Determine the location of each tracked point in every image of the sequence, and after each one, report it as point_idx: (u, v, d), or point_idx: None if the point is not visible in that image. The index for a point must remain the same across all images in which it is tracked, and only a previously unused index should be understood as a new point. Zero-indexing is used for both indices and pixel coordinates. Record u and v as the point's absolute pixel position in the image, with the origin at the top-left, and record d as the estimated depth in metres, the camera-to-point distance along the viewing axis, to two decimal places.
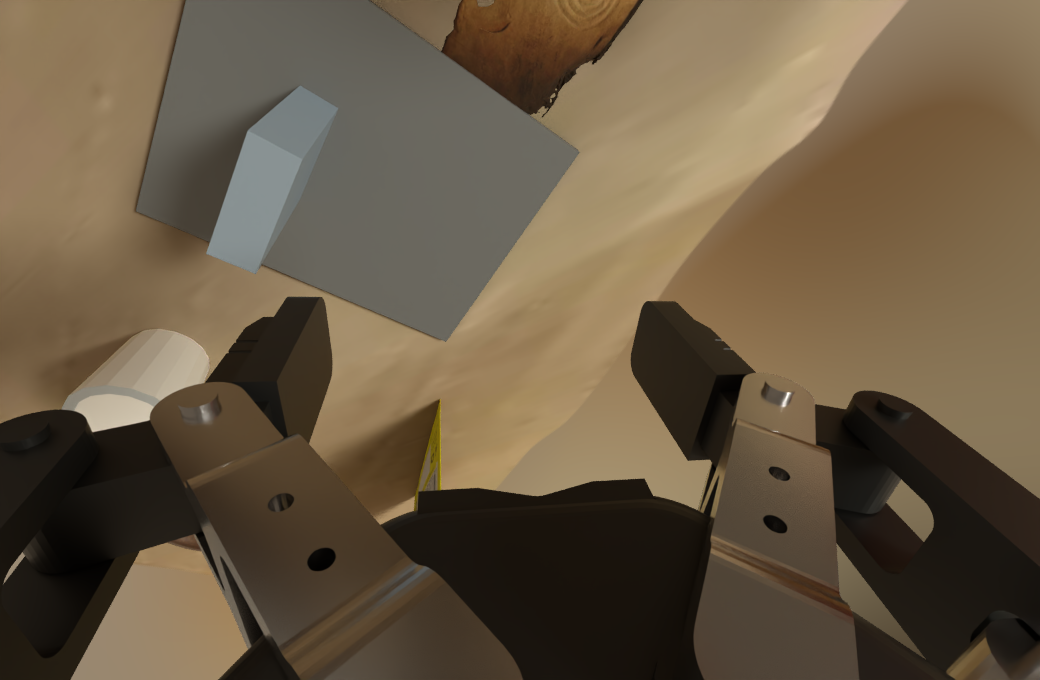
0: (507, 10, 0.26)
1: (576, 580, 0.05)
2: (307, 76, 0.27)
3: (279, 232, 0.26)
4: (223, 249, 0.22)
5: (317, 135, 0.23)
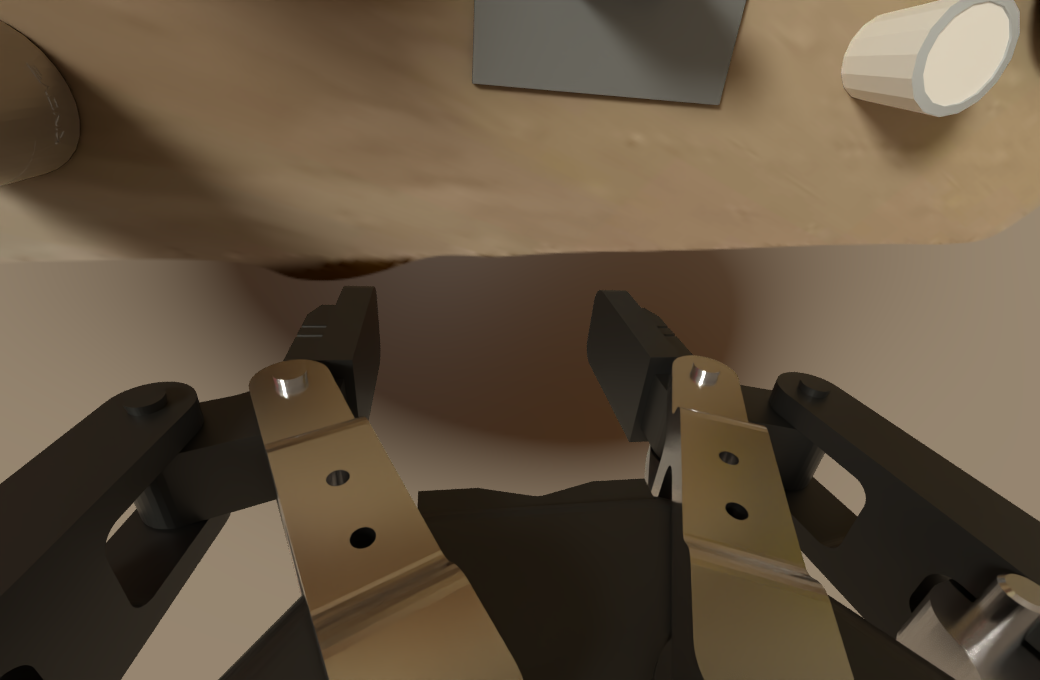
0: None
1: (576, 580, 0.05)
2: None
3: None
4: None
5: None
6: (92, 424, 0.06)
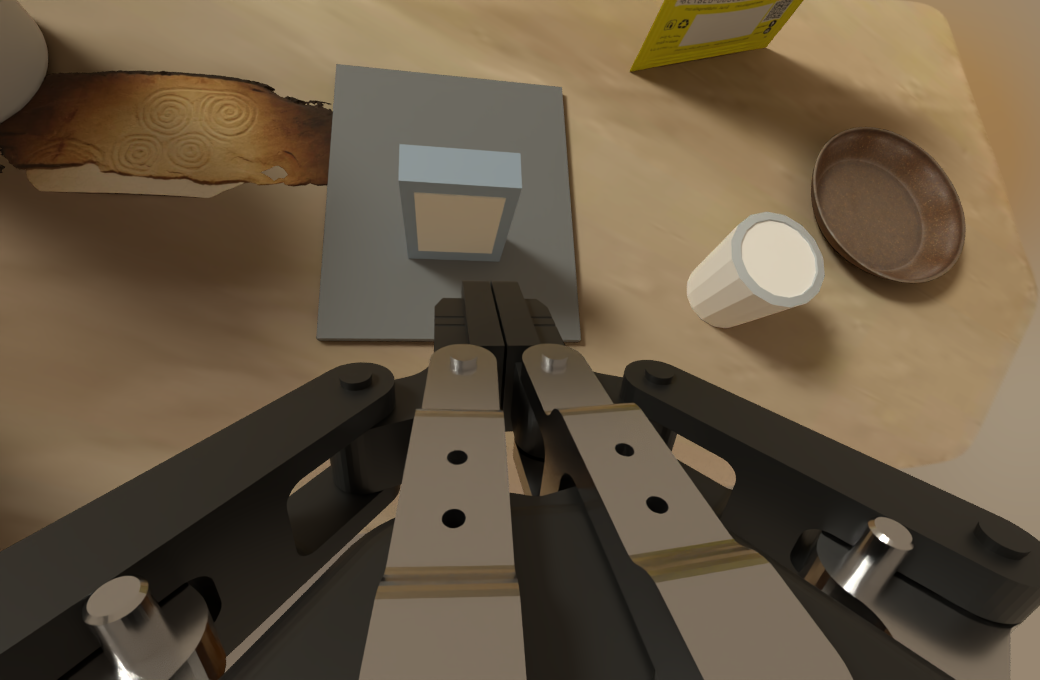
0: (276, 155, 0.34)
1: (576, 580, 0.05)
2: (398, 255, 0.33)
3: None
4: (510, 178, 0.26)
5: None
6: (314, 387, 0.08)
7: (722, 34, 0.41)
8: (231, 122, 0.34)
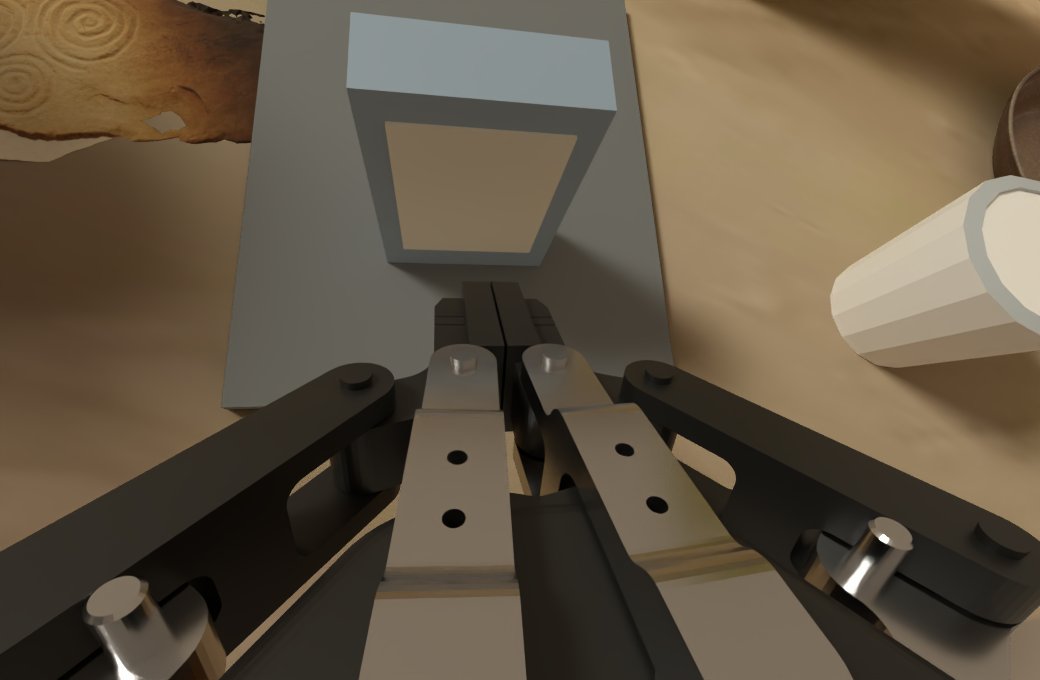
0: (167, 93, 0.21)
1: (576, 580, 0.05)
2: (371, 258, 0.20)
3: None
4: (591, 89, 0.12)
5: None
6: (314, 387, 0.08)
7: None
8: (90, 38, 0.21)
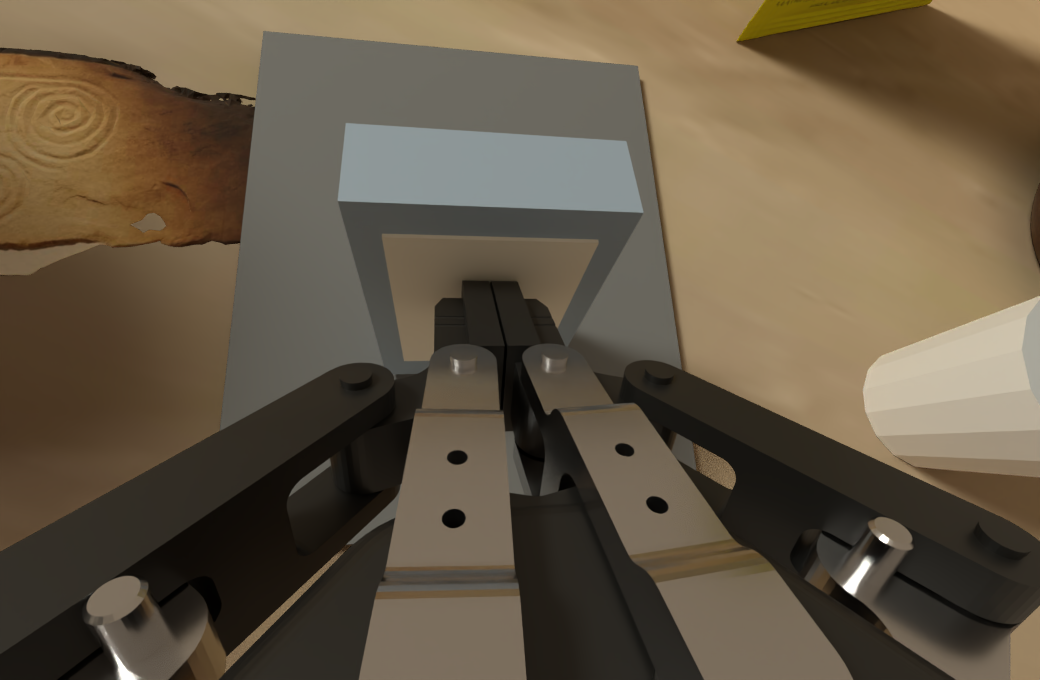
0: (149, 190, 0.19)
1: (576, 580, 0.05)
2: None
3: None
4: (613, 191, 0.11)
5: None
6: (314, 387, 0.08)
7: None
8: (67, 133, 0.19)
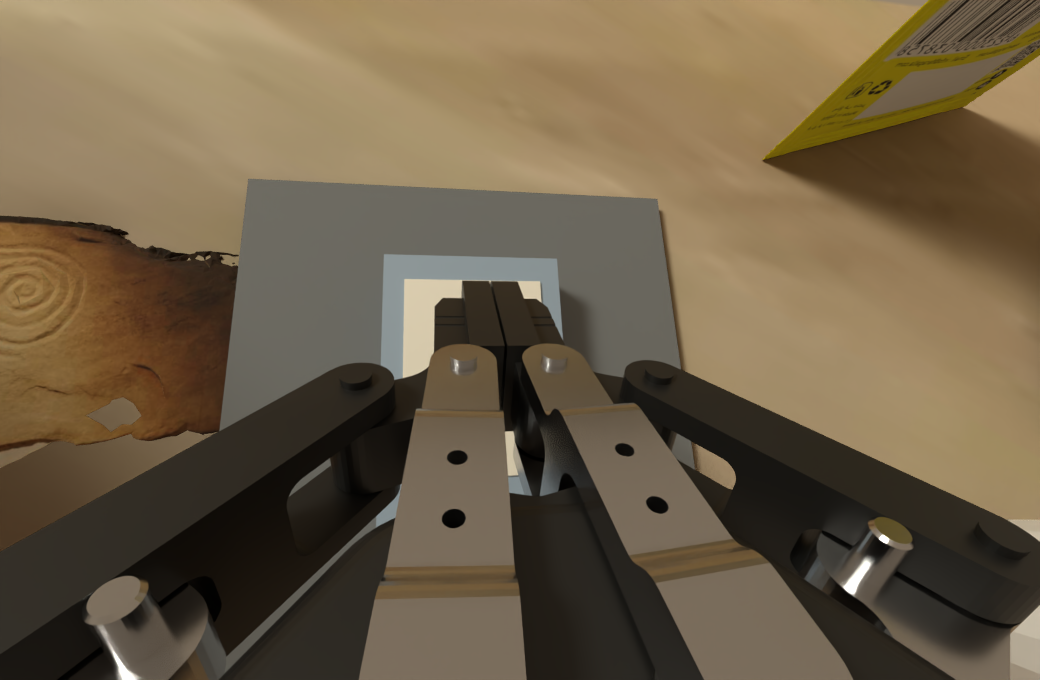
0: (119, 375, 0.17)
1: (576, 580, 0.05)
2: None
3: None
4: None
5: None
6: (314, 387, 0.08)
7: (926, 97, 0.24)
8: (26, 312, 0.17)
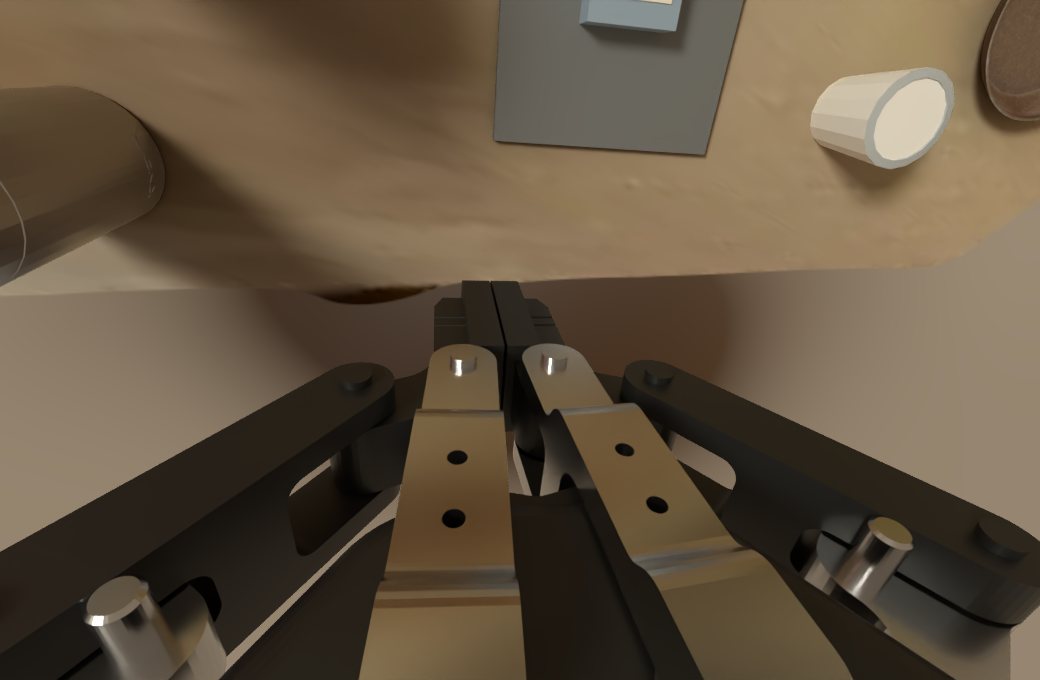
0: None
1: (576, 580, 0.05)
2: (566, 57, 0.35)
3: None
4: None
5: None
6: (314, 387, 0.08)
7: None
8: None
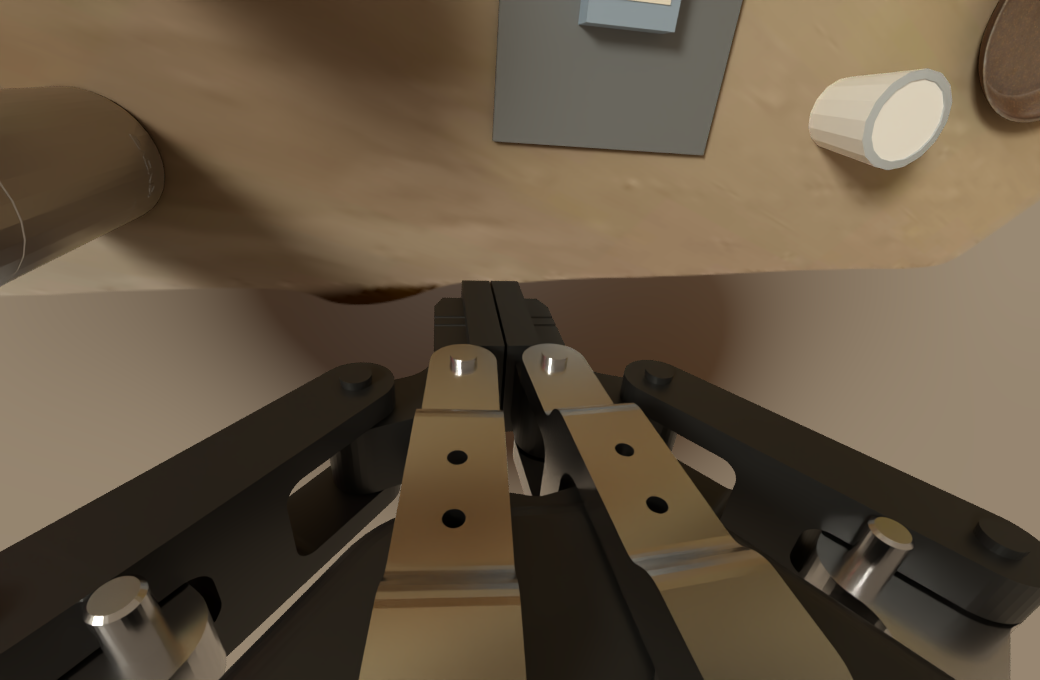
0: None
1: (576, 580, 0.05)
2: (565, 58, 0.35)
3: None
4: None
5: None
6: (314, 387, 0.08)
7: None
8: None
